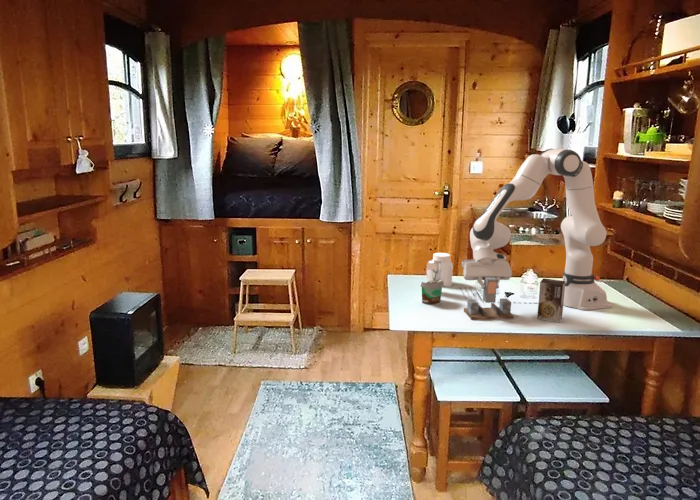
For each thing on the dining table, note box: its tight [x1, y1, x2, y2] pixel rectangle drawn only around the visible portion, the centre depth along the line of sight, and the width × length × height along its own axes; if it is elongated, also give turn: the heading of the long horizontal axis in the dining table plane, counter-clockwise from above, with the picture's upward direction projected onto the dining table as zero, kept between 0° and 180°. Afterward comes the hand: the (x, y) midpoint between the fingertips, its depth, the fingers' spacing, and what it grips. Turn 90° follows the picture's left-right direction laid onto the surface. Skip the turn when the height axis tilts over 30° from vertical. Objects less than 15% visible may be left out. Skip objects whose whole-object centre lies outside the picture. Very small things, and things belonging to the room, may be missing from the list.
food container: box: [420, 278, 445, 305], centre depth 244 cm, size 12×6×10 cm, turn 129°
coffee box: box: [536, 278, 565, 323], centre depth 225 cm, size 9×6×16 cm
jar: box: [431, 252, 454, 287], centre depth 272 cm, size 12×10×15 cm
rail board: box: [463, 298, 515, 321], centre depth 229 cm, size 18×11×6 cm, turn 95°
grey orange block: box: [482, 277, 497, 304], centre depth 227 cm, size 4×4×10 cm
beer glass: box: [426, 259, 442, 282], centre depth 258 cm, size 7×7×15 cm
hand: (490, 288), depth 227 cm, fingers closed on grey orange block, 4 cm apart
